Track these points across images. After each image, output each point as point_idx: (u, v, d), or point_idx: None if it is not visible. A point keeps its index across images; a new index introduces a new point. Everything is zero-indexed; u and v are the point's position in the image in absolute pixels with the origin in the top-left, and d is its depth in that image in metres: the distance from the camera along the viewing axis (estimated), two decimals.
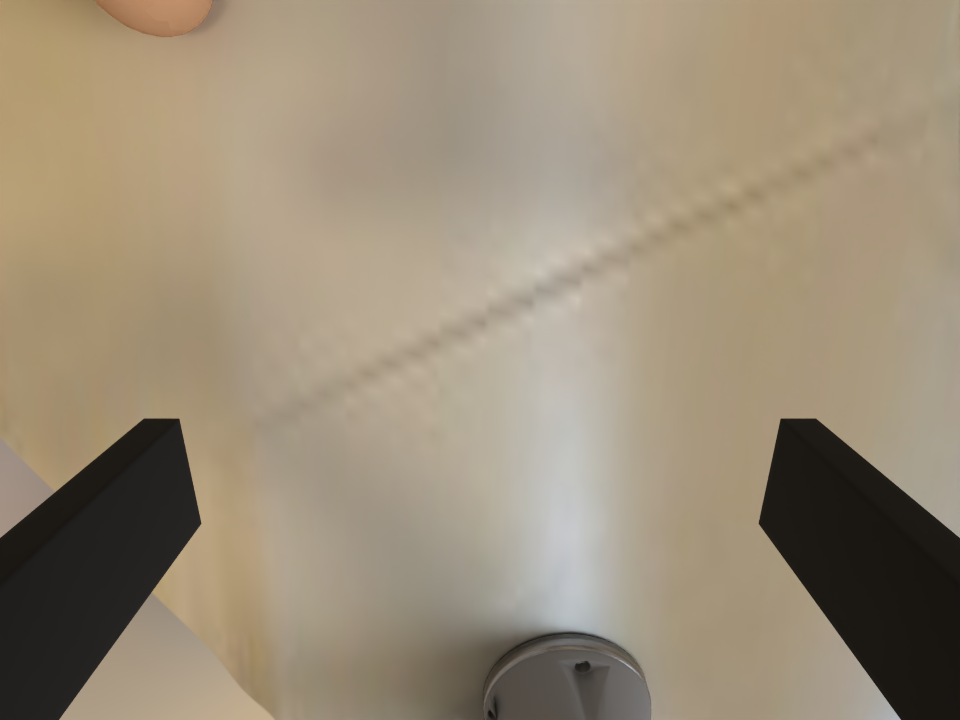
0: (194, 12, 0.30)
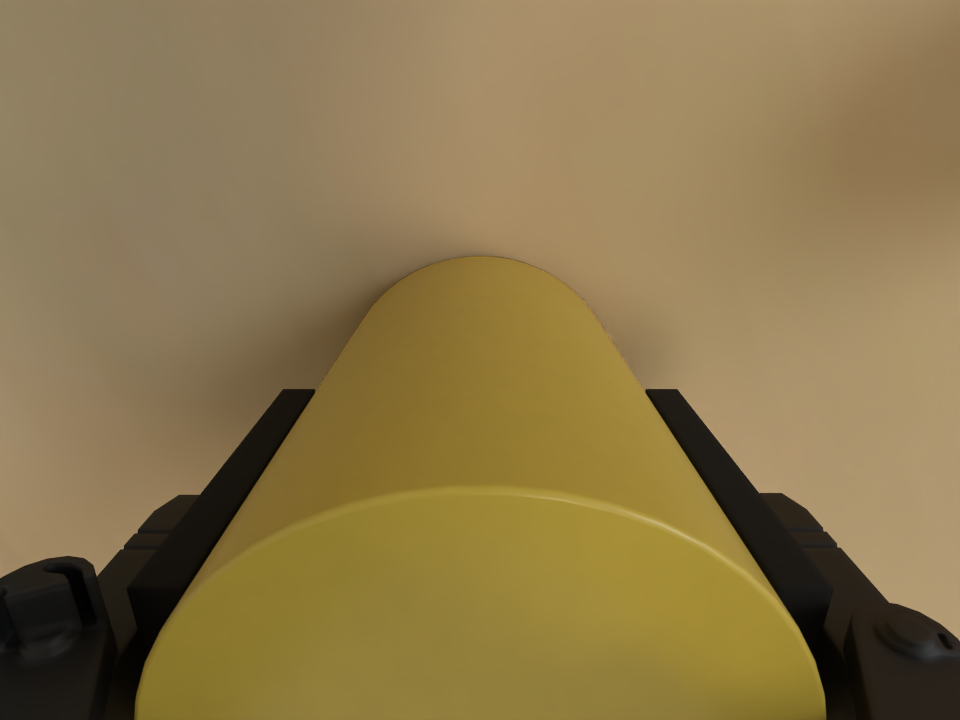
0: None
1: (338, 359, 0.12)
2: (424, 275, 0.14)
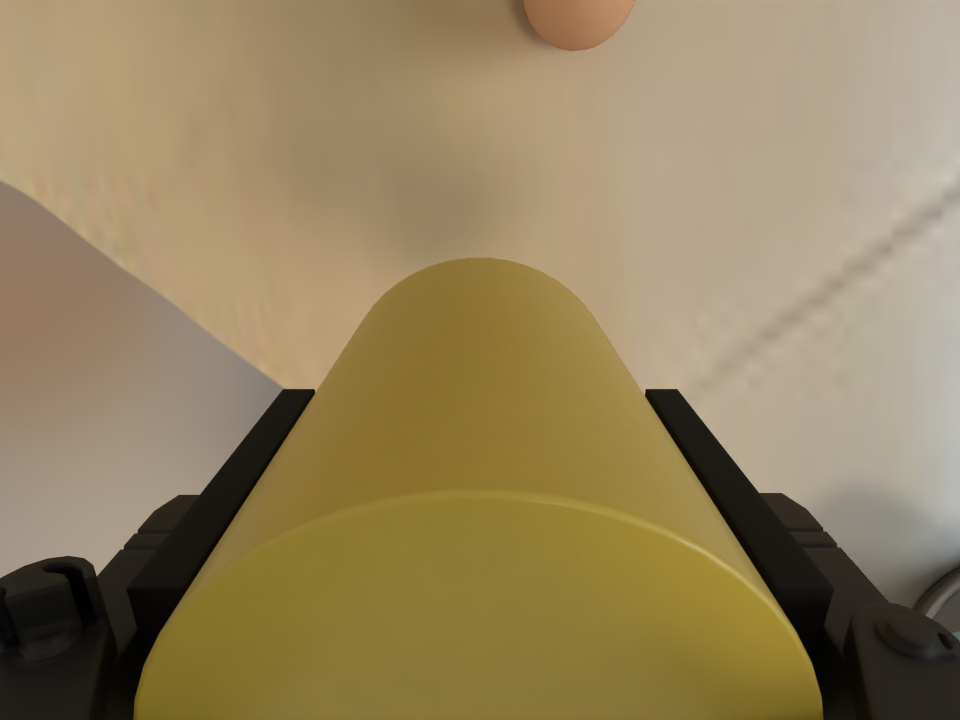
0: None
1: (337, 361, 0.12)
2: (423, 277, 0.15)
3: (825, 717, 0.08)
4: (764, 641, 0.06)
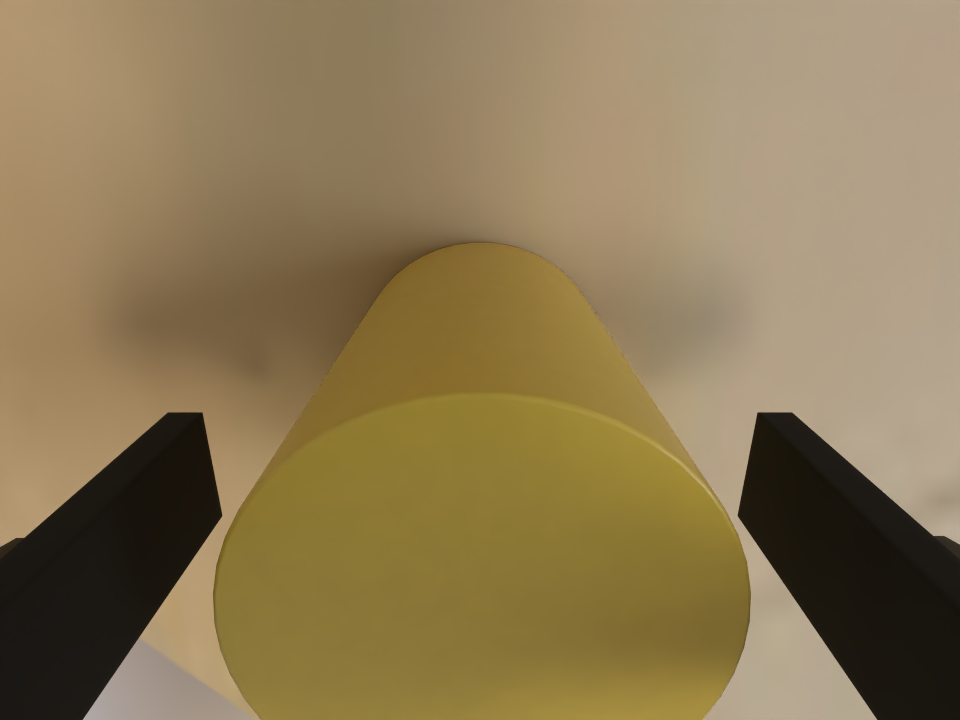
0: None
1: (358, 328, 0.14)
2: (431, 258, 0.16)
3: None
4: (699, 515, 0.08)
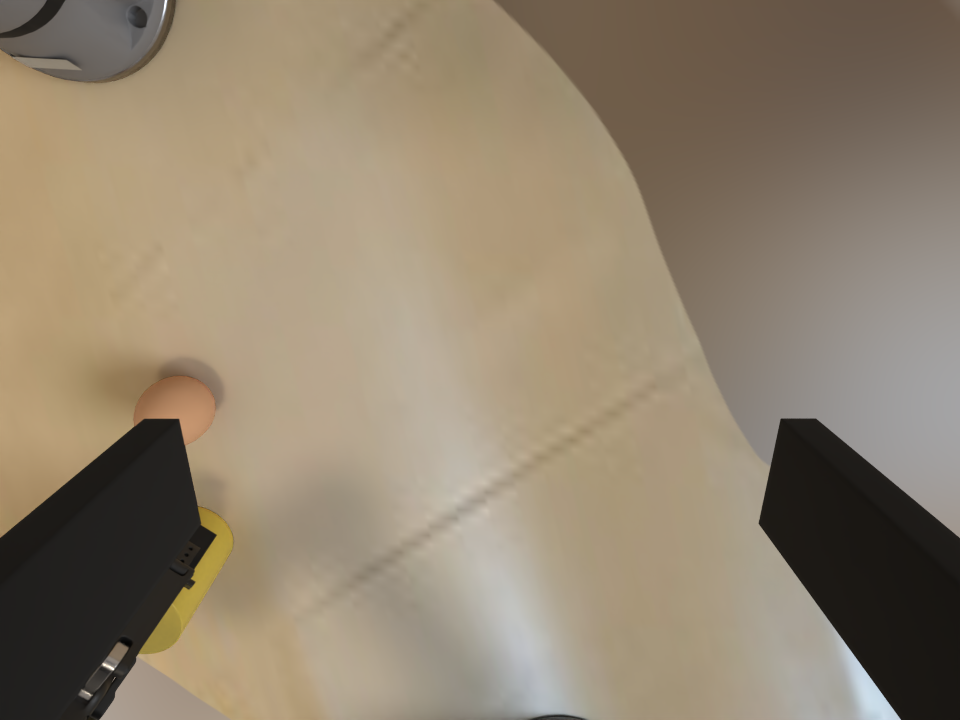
0: (207, 427, 0.51)
1: None
2: None
3: None
4: None
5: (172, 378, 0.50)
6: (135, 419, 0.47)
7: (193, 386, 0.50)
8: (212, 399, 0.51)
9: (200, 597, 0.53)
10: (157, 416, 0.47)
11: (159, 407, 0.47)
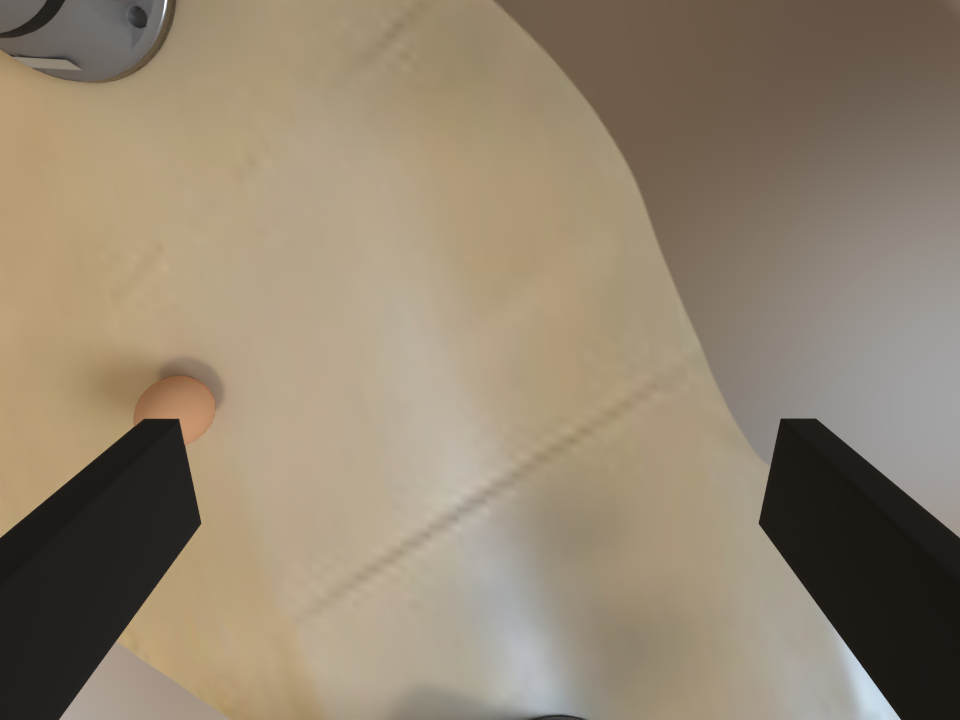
0: (207, 427, 0.51)
1: None
2: None
3: None
4: None
5: (172, 378, 0.50)
6: (135, 419, 0.47)
7: (193, 386, 0.50)
8: (212, 399, 0.51)
9: None
10: (157, 416, 0.47)
11: (159, 407, 0.47)
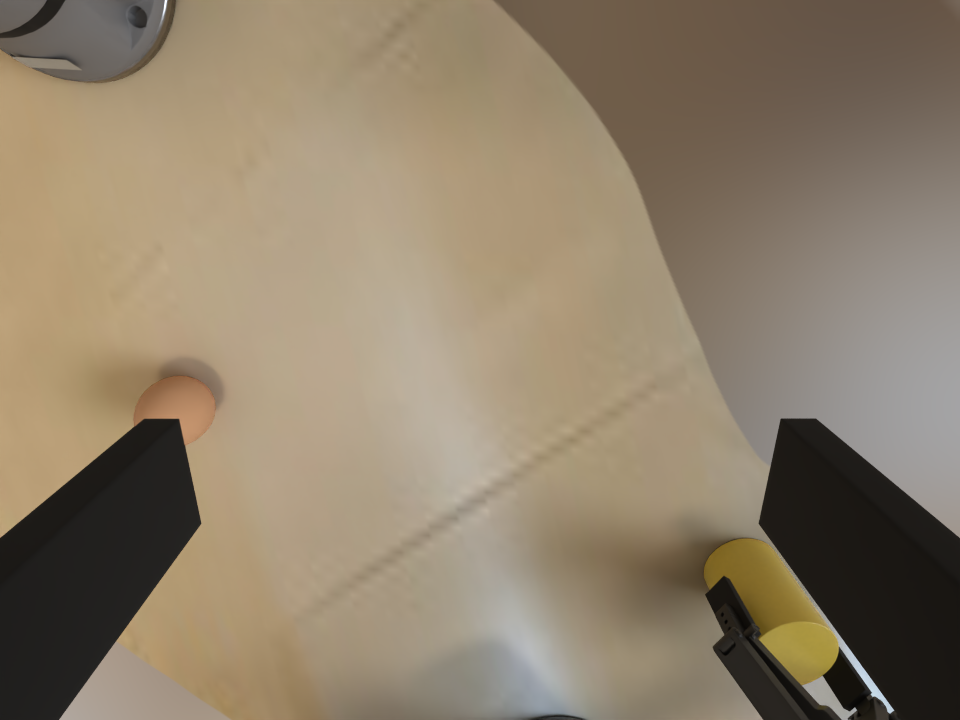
0: (207, 427, 0.51)
1: (787, 573, 0.56)
2: None
3: None
4: (816, 676, 0.52)
5: (172, 378, 0.50)
6: (135, 419, 0.47)
7: (193, 386, 0.50)
8: (212, 399, 0.51)
9: None
10: (157, 416, 0.47)
11: (159, 407, 0.47)
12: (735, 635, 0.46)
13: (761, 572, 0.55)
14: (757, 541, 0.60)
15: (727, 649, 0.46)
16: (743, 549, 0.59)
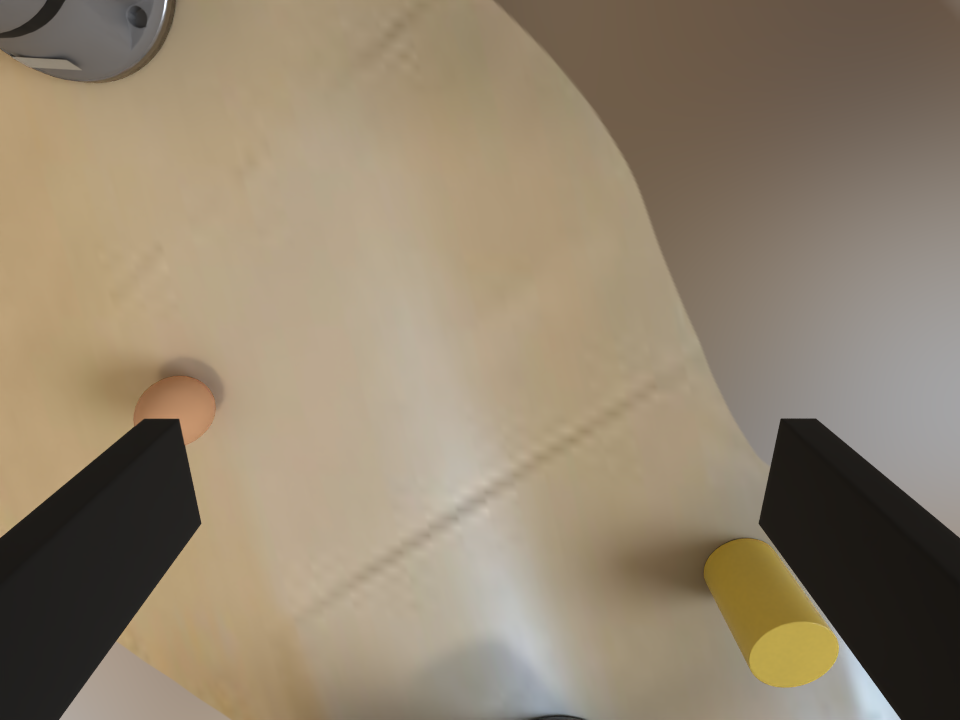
0: (207, 427, 0.51)
1: (787, 573, 0.56)
2: None
3: None
4: (816, 676, 0.52)
5: (172, 378, 0.50)
6: (135, 419, 0.47)
7: (193, 386, 0.50)
8: (212, 399, 0.51)
9: None
10: (157, 416, 0.47)
11: (159, 407, 0.47)
12: None
13: (761, 572, 0.55)
14: (757, 541, 0.60)
15: None
16: (743, 549, 0.59)
